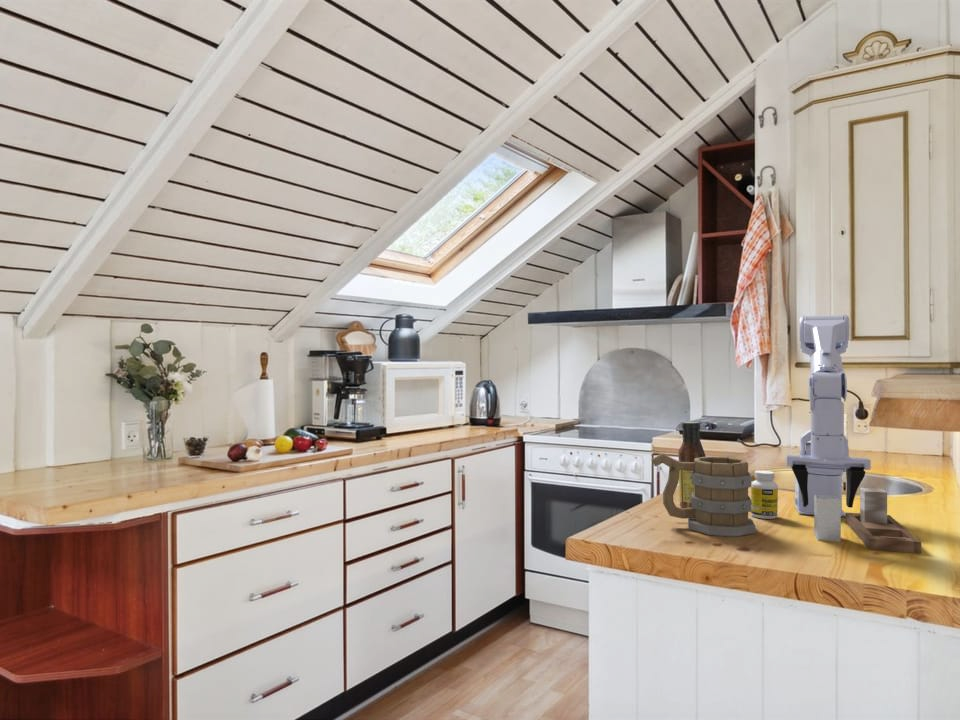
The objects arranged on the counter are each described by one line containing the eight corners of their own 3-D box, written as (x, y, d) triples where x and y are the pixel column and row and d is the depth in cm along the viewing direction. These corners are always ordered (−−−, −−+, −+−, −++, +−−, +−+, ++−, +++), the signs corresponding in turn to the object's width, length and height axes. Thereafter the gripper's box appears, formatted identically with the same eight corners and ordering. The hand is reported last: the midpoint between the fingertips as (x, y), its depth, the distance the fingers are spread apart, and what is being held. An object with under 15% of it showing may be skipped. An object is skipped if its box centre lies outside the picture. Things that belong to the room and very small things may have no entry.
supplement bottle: (761, 520, 150) (761, 474, 149) (745, 514, 155) (745, 470, 155) (783, 518, 151) (783, 473, 151) (766, 513, 156) (766, 469, 156)
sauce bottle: (713, 510, 159) (713, 422, 159) (690, 512, 157) (690, 423, 157) (694, 504, 165) (694, 420, 165) (672, 506, 163) (672, 421, 163)
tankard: (750, 523, 147) (750, 452, 147) (757, 538, 135) (757, 460, 135) (652, 517, 152) (652, 448, 152) (650, 531, 140) (650, 456, 140)
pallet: (869, 549, 127) (869, 505, 127) (845, 522, 148) (845, 484, 148) (921, 553, 124) (921, 508, 124) (889, 524, 145) (889, 486, 145)
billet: (817, 540, 133) (817, 498, 133) (814, 535, 137) (814, 494, 137) (840, 541, 132) (840, 499, 132) (836, 536, 136) (836, 495, 136)
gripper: (788, 435, 133) (788, 507, 133) (874, 438, 128) (874, 512, 129) (784, 431, 140) (784, 499, 140) (865, 434, 135) (865, 504, 135)
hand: (827, 505), depth 135 cm, fingers open, 7 cm apart
